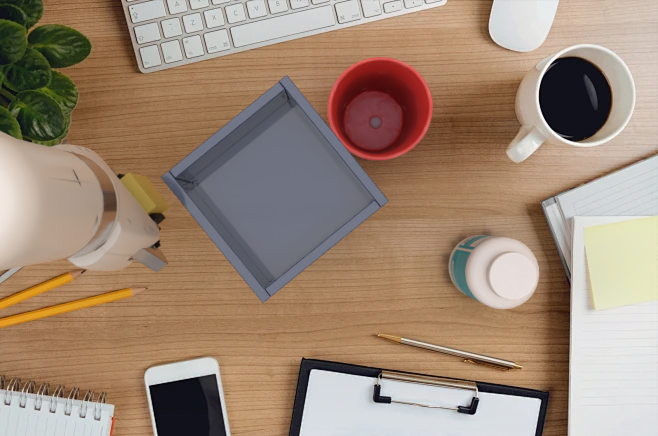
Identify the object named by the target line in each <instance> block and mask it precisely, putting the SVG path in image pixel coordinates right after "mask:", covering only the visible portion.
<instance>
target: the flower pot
mask: <svg viewBox="0 0 658 436" xmlns="http://www.w3.org/2000/svg"><path fill="white" fill-rule="evenodd" d="M433 100H434V99H433V95H432V92H431V90H430V87H429V85H428V82H426V79H424V77H423V76H422V75H421V73H420V72H418V70H417V69H416V68H414V67H413V66H411V65H410V64H408V63H406V62H405V61H403V60H401V59H397V58H393V57H388V56H373V57H369V58H368V57H367V58H364V59H362V60H360V61H357V62H355V63H353V64H352V65H350V66H349V67H348V68H347V69H345V70H344V71H343V72H342V73H341V74H340V75H339V76H338V78H337V79H336V81H334V83H333V85H332V86H331V89H330V92H329V94H328V99H327V106H326V114H327V121H328V126H329V127H330V129H331V130H332V131H333V132H334V133H335V135H336V136H337V137H338V138H339V140H340V141H341V142H342V143H343V145H344V146H345V147H346V148H347V150H348V151H349V152H350V153H351V154H352V156H355V157H357V158H360V159H363V160H368V161H373V162H374V161H377V162H379V161H381V162H382V161H389V160H392V159H396V158H399V157H401V156H403V155H405V154H407V153H408V152H410V151H412V150H413V149H414V148H415V147H416V146H417V145H418V144H420V142H421V141H422V140H423V139H424V137H425V136H426V134H427V132H428V130H429V128H430V125H431V122H432V117H433V112H434V101H433Z"/></svg>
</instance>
